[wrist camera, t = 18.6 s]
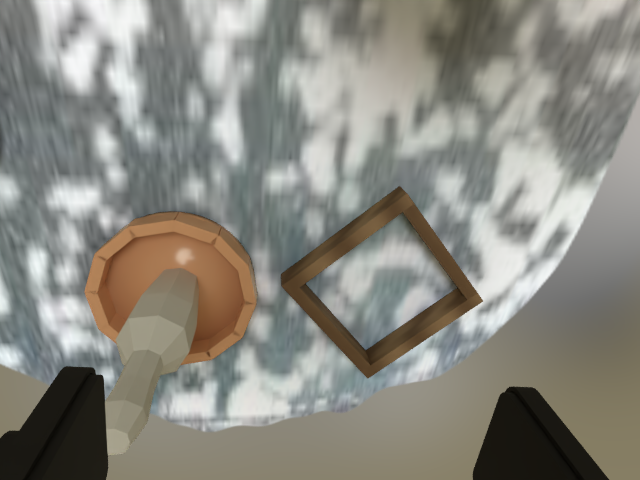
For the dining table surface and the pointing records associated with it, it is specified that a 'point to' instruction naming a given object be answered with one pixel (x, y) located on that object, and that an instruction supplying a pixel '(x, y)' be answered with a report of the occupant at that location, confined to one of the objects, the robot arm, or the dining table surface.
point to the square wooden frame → (410, 331)
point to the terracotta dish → (169, 253)
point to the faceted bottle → (150, 352)
